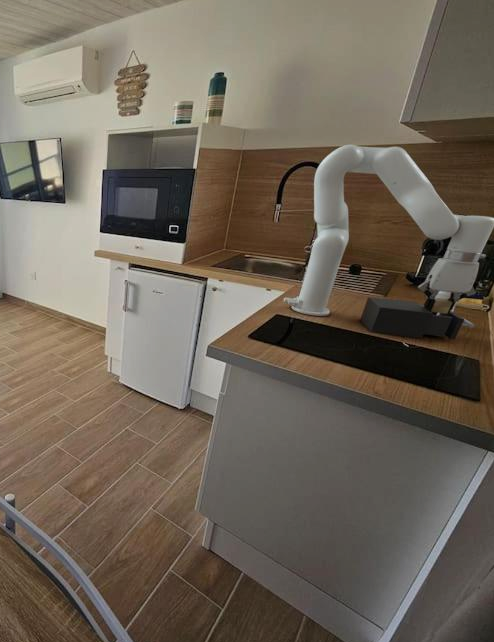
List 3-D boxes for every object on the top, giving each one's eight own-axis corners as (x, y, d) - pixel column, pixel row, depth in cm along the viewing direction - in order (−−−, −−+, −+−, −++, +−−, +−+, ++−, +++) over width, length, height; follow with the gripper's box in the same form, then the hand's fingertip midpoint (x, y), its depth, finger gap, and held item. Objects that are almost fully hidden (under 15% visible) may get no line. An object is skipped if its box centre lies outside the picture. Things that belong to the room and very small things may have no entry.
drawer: (454, 329, 128) (463, 310, 125) (472, 342, 119) (483, 321, 116) (392, 322, 134) (400, 303, 132) (405, 333, 125) (414, 313, 122)
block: (431, 311, 123) (436, 300, 122) (425, 308, 127) (430, 297, 125) (447, 313, 122) (452, 302, 120) (440, 309, 125) (446, 298, 124)
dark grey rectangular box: (406, 325, 134) (416, 302, 130) (421, 338, 124) (433, 313, 120) (359, 320, 139) (368, 297, 135) (371, 331, 129) (380, 307, 125)
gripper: (489, 256, 117) (463, 310, 124) (421, 251, 123) (400, 303, 130) (505, 261, 111) (476, 318, 118) (432, 256, 117) (409, 310, 124)
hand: (436, 310), depth 124 cm, fingers closed on block, 3 cm apart
